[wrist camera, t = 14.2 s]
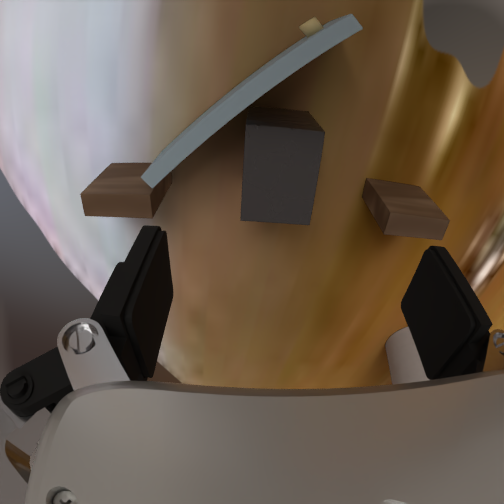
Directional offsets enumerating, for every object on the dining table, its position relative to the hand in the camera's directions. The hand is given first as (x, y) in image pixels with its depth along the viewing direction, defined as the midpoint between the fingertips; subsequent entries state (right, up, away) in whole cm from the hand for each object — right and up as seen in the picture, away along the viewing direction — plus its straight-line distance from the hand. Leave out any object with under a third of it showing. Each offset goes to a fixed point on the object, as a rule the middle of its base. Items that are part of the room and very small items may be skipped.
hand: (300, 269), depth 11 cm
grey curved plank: (-2, +14, +12) cm, 18 cm away
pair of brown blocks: (0, +7, +17) cm, 19 cm away
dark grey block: (0, +10, +15) cm, 18 cm away
